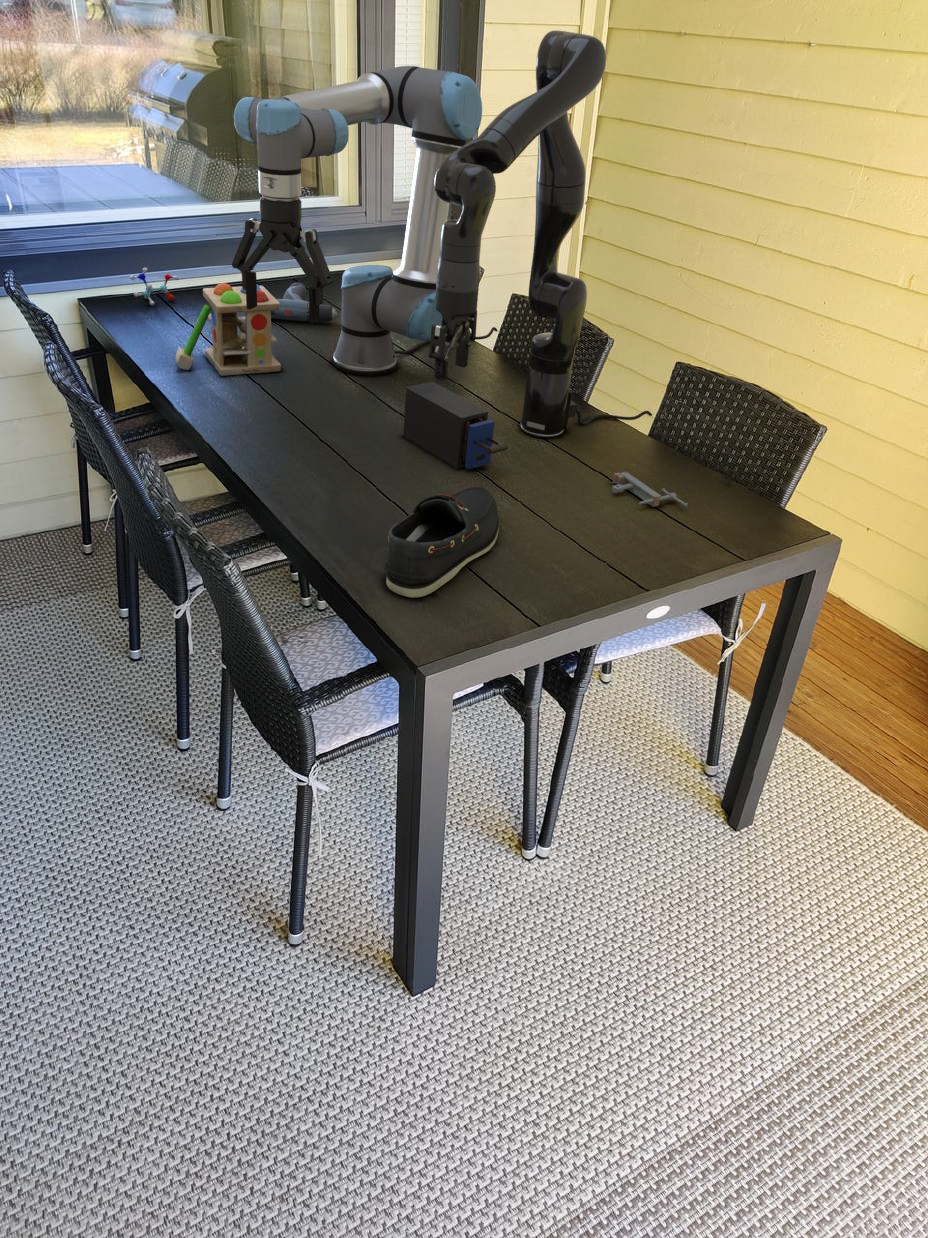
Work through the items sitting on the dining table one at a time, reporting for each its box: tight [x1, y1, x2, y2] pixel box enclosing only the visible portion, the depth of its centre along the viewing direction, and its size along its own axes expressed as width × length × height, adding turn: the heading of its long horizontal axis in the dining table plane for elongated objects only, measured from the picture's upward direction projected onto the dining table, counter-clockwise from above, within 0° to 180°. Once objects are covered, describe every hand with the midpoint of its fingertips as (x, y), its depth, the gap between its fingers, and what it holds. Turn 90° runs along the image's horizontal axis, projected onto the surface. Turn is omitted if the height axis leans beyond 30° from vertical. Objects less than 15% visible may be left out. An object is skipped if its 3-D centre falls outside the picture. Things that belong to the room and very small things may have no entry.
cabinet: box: [403, 381, 489, 470], centre depth 199 cm, size 18×7×11 cm, turn 40°
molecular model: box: [129, 267, 180, 307], centre depth 263 cm, size 12×10×10 cm
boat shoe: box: [383, 486, 500, 598], centre depth 165 cm, size 13×33×10 cm, turn 147°
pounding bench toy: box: [174, 282, 282, 377], centre depth 225 cm, size 23×14×18 cm, turn 116°
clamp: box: [611, 471, 689, 509], centre depth 190 cm, size 15×2×10 cm
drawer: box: [461, 417, 509, 470], centre depth 195 cm, size 22×6×9 cm, turn 40°
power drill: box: [271, 282, 338, 322], centre depth 265 cm, size 5×19×20 cm
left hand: (282, 314), depth 189 cm, fingers open, 13 cm apart
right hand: (451, 372), depth 182 cm, fingers open, 8 cm apart
